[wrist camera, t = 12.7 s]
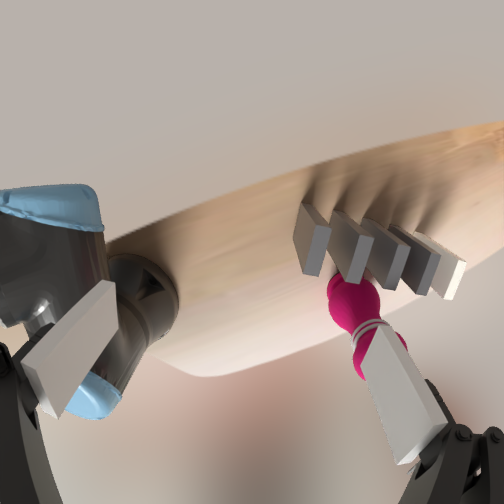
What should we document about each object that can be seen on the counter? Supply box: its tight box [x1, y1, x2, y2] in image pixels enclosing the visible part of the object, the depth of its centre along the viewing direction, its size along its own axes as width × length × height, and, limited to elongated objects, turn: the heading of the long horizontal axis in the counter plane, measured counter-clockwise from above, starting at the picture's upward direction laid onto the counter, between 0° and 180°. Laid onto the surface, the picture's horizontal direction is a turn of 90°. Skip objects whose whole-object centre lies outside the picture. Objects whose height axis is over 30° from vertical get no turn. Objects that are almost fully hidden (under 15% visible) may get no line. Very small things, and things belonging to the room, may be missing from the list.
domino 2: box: [327, 210, 374, 284], centre depth 32 cm, size 2×5×12 cm, turn 169°
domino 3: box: [361, 217, 411, 291], centre depth 32 cm, size 2×5×12 cm, turn 169°
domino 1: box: [293, 203, 332, 277], centre depth 32 cm, size 2×5×12 cm, turn 170°
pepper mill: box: [327, 273, 408, 381], centre depth 31 cm, size 7×7×20 cm
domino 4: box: [388, 224, 442, 296], centre depth 32 cm, size 2×5×12 cm, turn 170°
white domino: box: [413, 231, 467, 300], centre depth 32 cm, size 2×5×12 cm, turn 169°
